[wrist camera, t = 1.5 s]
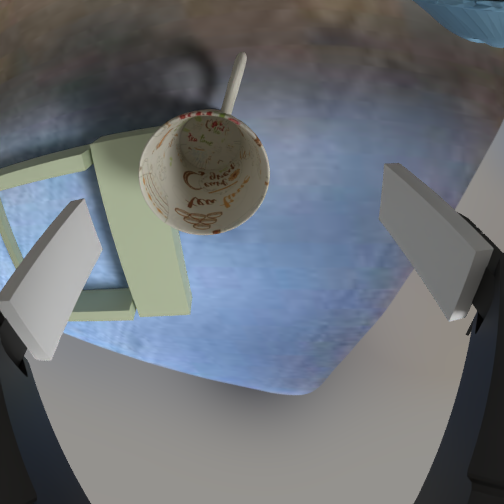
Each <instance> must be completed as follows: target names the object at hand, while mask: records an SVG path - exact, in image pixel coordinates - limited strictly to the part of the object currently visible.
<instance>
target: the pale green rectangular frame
mask: <svg viewBox="0 0 504 504" xmlns="http://www.w3.org/2000/svg"><path fill="white" fill-rule="evenodd" d="M160 127H161V126H157V127H150V128H144V129H138V130H132V131H127V132H121V133H116V134H111V135H106V136H102V137H100V138H99V139H97V140H96V141H94V142H93V143H91V144H88V145H84V146H79V147H75V148H71V149H67V150H63V151H59V152H55V153H51V154H47V155H44V156H40V157H36V158H33V159H30V160H26V161H23V162H20V163H16V164H13V165H10V166H7V167H4V168H1V169H0V191H1V190H5V189H9V188H12V187H16V186H20V185H24V184H28V183H32V182H36V181H40V180H44V179H48V178H52V177H57V176H61V175H66V174H71V173H75V172H80V171H85V170H86V169H87V168H89V167H90V166H91V165H92V164H93V163H94V167H95V171H96V176H97V180H98V184H99V188H100V192H101V196H102V200H103V204H104V208H105V211H106V215H107V219H108V222H109V226H110V229H111V233H112V236H113V239H114V243H115V246H116V249H117V252H118V256H119V259H120V262H121V265H122V268H123V271H124V274H125V277H126V280H127V283H128V286H129V288H118V289H100V290H82V291H81V293H80V296H79V298H78V300H77V302H76V304H75V306H74V308H73V311H72V313H71V315H70V317H69V320H68V321H122V320H133V319H134V315H135V312H136V308H137V310H138V313H139V316H140V317H152V316H173V315H190V312H191V303H192V294H191V290H190V285H189V280H188V276H187V271H186V266H185V261H184V256H183V252H182V246H181V241H180V236H179V231H178V230H177V229H175V228H172V227H171V226H169V225H167V224H166V223H164V222H163V221H162V220H160V219H159V218H158V217H157V216H156V215H155V214H154V213H153V212H152V210H151V209H150V208H149V206H148V205H147V203H146V201H145V199H144V197H143V195H142V192H141V189H140V185H139V177H138V170H139V162H140V158H141V154H142V152H143V149H144V147H145V145H146V143H147V142H148V140H149V139H150V137H151V136H152V135H153V134H154V133H155V131H156V130H157V129H159V128H160ZM0 233H1V236H2V238H3V241H4V243H5V245H6V248H7V250H8V252H9V255H10V257H11V259H12V261H13V264H14V266H15V268H16V269H17V267H18V266H19V265H20V263H21V262H22V261H23V257H22V254H21V252H20V250H19V247H18V245H17V243H16V240H15V238H14V235H13V233H12V230H11V227H10V225H9V222H8V219H7V217H6V214H5V211H4V208H3V205H2V202H1V199H0Z"/></svg>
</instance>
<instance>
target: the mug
mask: <svg viewBox="0 0 504 504" xmlns="http://www.w3.org/2000/svg"><path fill="white" fill-rule="evenodd" d="M245 64H246V54H245V53H244V52H240V53H239V54H238V55H237V57H236V59H235V62H234V65H233V69H232V73H231V77H230V79H229V82H228V86H227V91H226V94H225V98H224V101H223V105H222V108H221V110H216V109H205V110H198V111H192V112H188V113H184V114H181V115H179V116H177V117H175V118H173V119H171V120H169V121H167V122H166V123H165V124H163V125H162V126H161V127H160V128H159V129H157V130H156V131H155V133H154V134H153V135H152V136H151V137H150V139H149V140H148V142H147V143H146V145H145V147H144V149H143V152H142V154H141V158H140V162H139V170H138V177H139V185H140V189H141V192H142V195H143V197H144V199H145V201H146V203H147V205H148V206H149V208H150V209H151V210H152V212H153V213H154V214H155V215H156V216H157V217H158V218H159V219H160V220H162V221H163V222H164V223H166V224H167V225H169V226H171V227H172V228H175V229H177V230H179V231H182V232H185V233H189V234H195V235H213V234H219V233H223V232H226V231H229V230H231V229H234V228H236V227H238V226H239V225H241V224H242V223H244V222H245V221H247V220H248V219H249V218H250V217H251V216H252V215H253V214H254V213H255V212H256V211H257V209H258V208H259V207H260V205H261V203H262V201H263V200H264V198H265V195H266V192H267V189H268V185H269V179H270V169H269V161H268V157H267V154H266V151H265V149H264V147H263V145H262V143H261V141H260V140H259V138H258V137H257V136H256V134H255V133H254V132H253V131H252V130H251V129H250V128H249V127H248V126H247V125H246V124H244V123H243V122H242V121H240V120H238V119H237V118H235V117H233V116H232V115H231V113H232V110H233V106H234V103H235V100H236V96H237V93H238V90H239V86H240V83H241V79H242V76H243V72H244V68H245Z"/></svg>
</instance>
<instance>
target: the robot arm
mask: <svg viewBox="0 0 504 504" xmlns="http://www.w3.org/2000/svg"><path fill="white" fill-rule="evenodd" d="M413 1H414V2H416V3H417V4H418V5H419V6H421V7H422V8H423V9H424V10H425V11H426V12H428V13H429V14H430V15H431V16H432V17H433V18H434V19H436V20H437V21H438V22H439V23H440V24H441V25H442V26H444V27H445V28H446V29H448V30H449V31H451V32H452V33H454V34H456V35H458V36H460V37H462V38H464V39H467V40H469V41H473V42H478V43H486V44H488V45H490V46H493V47H499V48H504V0H413ZM379 220H380V221H381V223H382V224H383V225H384V227H385V228H386V229H387V231H388V232H389V233H390V235H391V236H392V237H393V239H394V240H395V241H396V243H397V244H398V246H399V247H400V248H401V250H402V251H403V253H404V254H405V255H406V257H407V258H408V260H409V261H410V263H411V264H412V265H413V267H414V268H415V270H416V271H417V273H418V274H419V276H420V277H421V279H422V280H423V282H424V283H425V285H426V286H427V288H428V289H429V291H430V292H431V294H432V295H433V297H434V299H435V300H436V302H437V303H438V305H439V307H440V308H441V310H442V311H443V313H444V314H445V316H446V318H447V319H448V321H449V322H450V321H454V320H457V319H461V318H465V317H466V316H467V314H468V311H469V309H470V307H471V305H472V304H473V305H474V306H475V308H476V309H477V313H476V315H475V317H474V319H473V321H472V323H471V325H470V327H469V329H468V331H467V333H466V335H469V334H470V332H471V337H470V342H469V347H468V352H467V356H466V361H465V365H464V369H463V373H462V378H461V381H460V386H459V389H458V392H457V396H456V399H455V403H454V406H453V409H452V412H451V416H450V419H449V422H448V425H447V428H446V430H445V433H444V436H443V439H442V441H441V444H440V447H439V449H438V452H437V454H436V457H435V459H434V462H433V464H432V466H431V469H430V471H429V473H428V475H427V478H426V480H425V482H424V484H423V486H422V488H421V491H420V493H419V495H418V497H417V499H416V500H415V502H414V504H504V253H502V252H501V251H500V249H499V248H498V247H497V246H496V245H495V244H494V243H493V242H492V241H491V240H490V239H489V238H488V237H487V236H486V235H485V234H483V232H482V231H481V230H480V229H479V228H476V225H475V224H474V223H472V221H470V220H469V219H468V218H467V217H465V216H463V215H462V214H460V213H458V212H456V211H455V210H454V209H453V208H452V207H451V206H450V205H449V204H447V203H446V202H445V201H444V200H443V199H442V198H441V197H440V196H438V195H437V194H436V193H435V192H434V191H433V190H431V189H430V188H429V187H428V186H427V185H426V184H424V183H423V182H422V181H421V180H420V179H418V178H417V177H416V176H415V175H413V174H412V173H411V172H410V171H408V170H407V169H406V168H405V167H403V166H402V165H401V164H400V163H391V164H384V174H383V185H382V195H381V205H380V214H379ZM102 250H103V249H102V247H101V244H100V241H99V239H98V236H97V233H96V231H95V228H94V225H93V222H92V219H91V217H90V214H89V211H88V208H87V205H86V202H85V199H79V200H75V201H71V202H70V203H69V204H68V205H67V206H66V207H65V208H64V210H63V211H62V212H61V213H60V214H59V215H58V217H57V218H56V219H55V220H54V221H53V222H52V224H51V225H50V226H49V227H48V228H47V230H46V231H45V232H44V233H43V235H42V236H41V237H40V238H39V240H38V241H37V242H36V243H35V245H34V246H33V247H32V249H31V250H30V251H29V253H28V254H27V255H26V257H25V258H24V259H23V261H22V262H21V263H20V265H19V266H18V267H17V269H16V270H15V272H14V273H13V275H12V276H11V277H10V279H9V280H8V282H7V283H6V285H5V286H4V288H3V289H2V291H1V292H0V504H91V503H90V501H89V500H88V498H87V496H86V495H85V493H84V491H83V489H82V488H81V486H80V484H79V482H78V480H77V479H76V477H75V475H74V473H73V471H72V469H71V467H70V465H69V463H68V461H67V459H66V457H65V455H64V453H63V451H62V449H61V447H60V445H59V442H58V440H57V438H56V436H55V433H54V431H53V429H52V426H51V424H50V421H49V419H48V416H47V414H46V411H45V409H44V406H43V404H42V401H41V398H40V396H39V392H38V390H37V387H36V384H35V381H34V378H33V374H32V371H31V368H30V365H29V363H28V361H27V359H26V358H25V357H24V354H25V352H26V350H27V349H28V350H29V352H30V353H31V354H32V356H33V357H34V358H35V359H36V360H46V361H51V360H52V358H53V355H54V353H55V350H56V348H57V345H58V343H59V341H60V338H61V336H62V333H63V331H64V329H65V326H66V324H67V322H68V320H69V317H70V315H71V313H72V311H73V308H74V306H75V304H76V302H77V300H78V298H79V296H80V293H81V291H82V289H83V287H84V285H85V283H86V281H87V279H88V277H89V275H90V273H91V271H92V269H93V267H94V265H95V263H96V261H97V260H98V258H99V256H100V254H101V252H102Z"/></svg>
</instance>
